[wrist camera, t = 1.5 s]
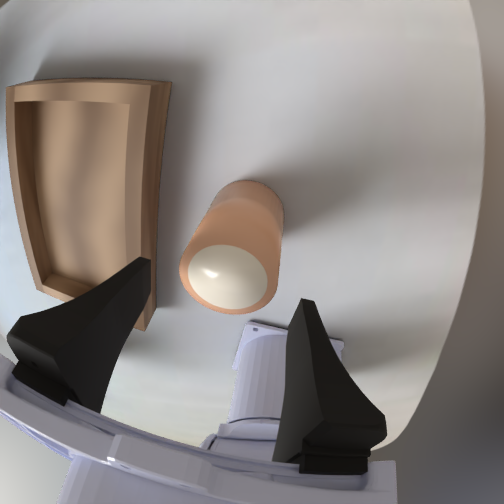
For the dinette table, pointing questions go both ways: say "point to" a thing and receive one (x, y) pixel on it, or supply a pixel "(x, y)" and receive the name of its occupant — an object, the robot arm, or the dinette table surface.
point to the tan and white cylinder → (236, 250)
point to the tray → (86, 178)
